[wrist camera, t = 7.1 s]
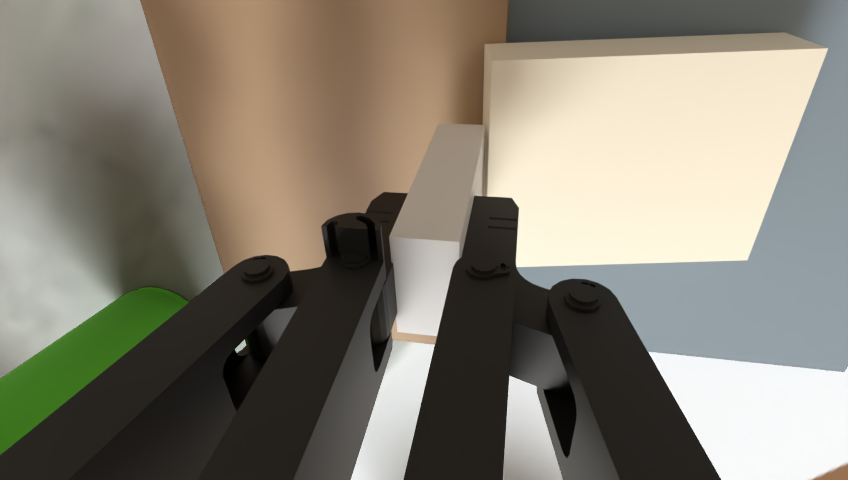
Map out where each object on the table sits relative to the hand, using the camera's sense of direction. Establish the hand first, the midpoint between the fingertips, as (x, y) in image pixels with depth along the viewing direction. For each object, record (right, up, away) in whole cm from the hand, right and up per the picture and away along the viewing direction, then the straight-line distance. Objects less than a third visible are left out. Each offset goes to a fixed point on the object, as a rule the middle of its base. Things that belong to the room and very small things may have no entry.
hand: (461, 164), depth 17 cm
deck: (-4, +2, +4) cm, 6 cm away
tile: (+5, +1, +1) cm, 5 cm away
